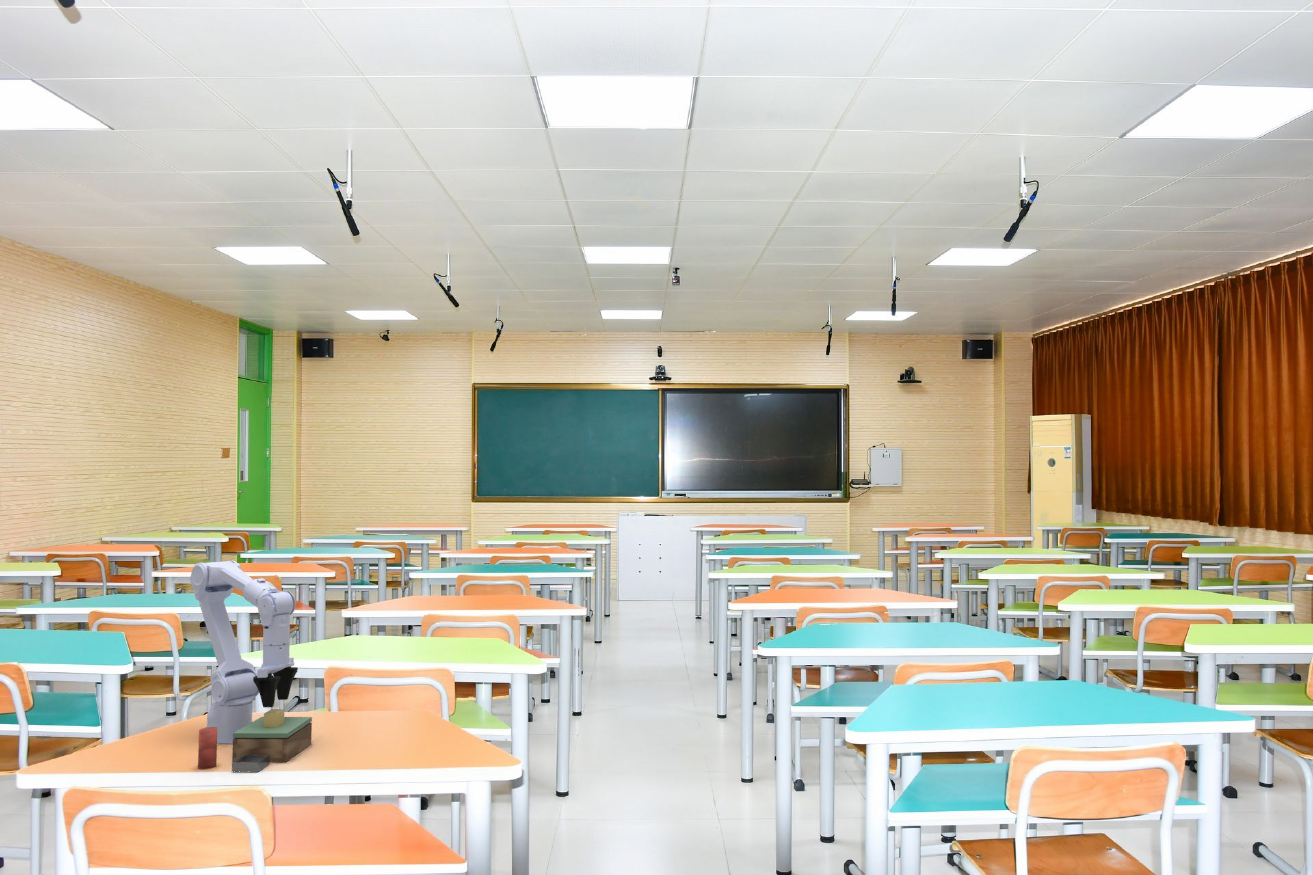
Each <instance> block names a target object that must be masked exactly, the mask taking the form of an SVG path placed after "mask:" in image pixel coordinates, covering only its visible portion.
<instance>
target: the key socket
mask: <svg viewBox="0 0 1313 875" xmlns="http://www.w3.org/2000/svg"><path fill="white" fill-rule="evenodd" d="M270 764H271V762H270V755H243V756H242V757H240V758H238V759H237V760H235V761H234V762H232V761H231V772H232V771H233V772H232V773H242V772H241V771H250V772H249V773H259V772H260V771H262V770H264V768H266V767H267V766H269V765H270ZM234 771H235V772H234ZM239 771H240V772H239Z"/></svg>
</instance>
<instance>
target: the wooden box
mask: <svg viewBox="0 0 1313 875" xmlns="http://www.w3.org/2000/svg"><path fill="white" fill-rule="evenodd" d="M312 726H313V722H310V723H309V724H307V725H306V726H304V727H303V728H301V729H300V730H298V731H297V732H295V733H294V734H292V735H291V736H289V737H288V738H234V739H233V744H232V756H231V758H232V760H231V763H232V762H234V761H235V760H237V759H238V758H240V757H242V756H243V755H270V763H287V762H289V761H291V759H293V758H294V757H296V756H297V755H299V754H300V753H302V752H303V751H304V750H305V749H307V748H308V747H309V746H310V745H312V729H313V727H312Z"/></svg>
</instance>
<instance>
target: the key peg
mask: <svg viewBox="0 0 1313 875" xmlns="http://www.w3.org/2000/svg"><path fill="white" fill-rule="evenodd" d="M217 730H218V728H217V727H207V726H206V727H202V728H199V729H198V749H197V751H198V755H197V756H198V757H197V769H199V770H208V769H209V770H210V769H214V768H215V767H217V758H218V757H217V756H218V754H217V753H218V744H217Z"/></svg>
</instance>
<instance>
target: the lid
mask: <svg viewBox="0 0 1313 875" xmlns="http://www.w3.org/2000/svg"><path fill="white" fill-rule="evenodd" d="M309 723H313V717H312V716H285V708H283V709H277V708H276V709H275V708H273V709H270V710H268V711H266V712H265V713H263V716H260V717H259V718H257V719H255V720H252V723H250V724H248V725H246V726H245V727H243V728H241V729H239V730H238V731H236V732H234V733H233V738H288V737H289V736H291V735H292V734H294V733H295V732H297V731H298V730H300V729H301V728H303V727H304V726H306V725H307V724H309Z"/></svg>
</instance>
